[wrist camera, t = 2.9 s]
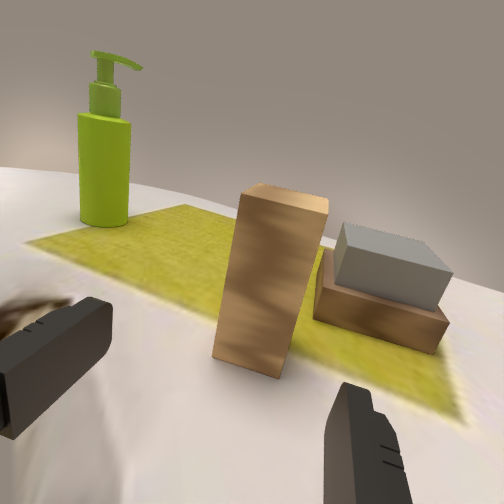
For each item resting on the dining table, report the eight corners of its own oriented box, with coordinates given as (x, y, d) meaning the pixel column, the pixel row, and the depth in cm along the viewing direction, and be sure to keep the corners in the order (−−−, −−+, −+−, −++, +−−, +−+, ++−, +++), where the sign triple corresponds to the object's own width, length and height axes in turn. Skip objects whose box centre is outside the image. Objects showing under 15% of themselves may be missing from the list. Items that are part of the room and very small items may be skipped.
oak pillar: (288, 336, 25) (328, 198, 21) (278, 379, 21) (328, 214, 16) (232, 319, 26) (259, 182, 22) (211, 356, 22) (241, 193, 17)
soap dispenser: (140, 226, 42) (149, 62, 34) (85, 228, 38) (80, 42, 30) (128, 212, 46) (133, 63, 38) (76, 213, 42) (71, 45, 34)
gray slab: (409, 273, 35) (423, 241, 34) (433, 312, 27) (453, 273, 25) (333, 252, 37) (343, 221, 35) (334, 284, 28) (347, 245, 27)
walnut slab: (402, 300, 37) (415, 272, 36) (430, 358, 27) (449, 322, 26) (315, 276, 39) (324, 248, 37) (311, 322, 29) (323, 286, 27)
